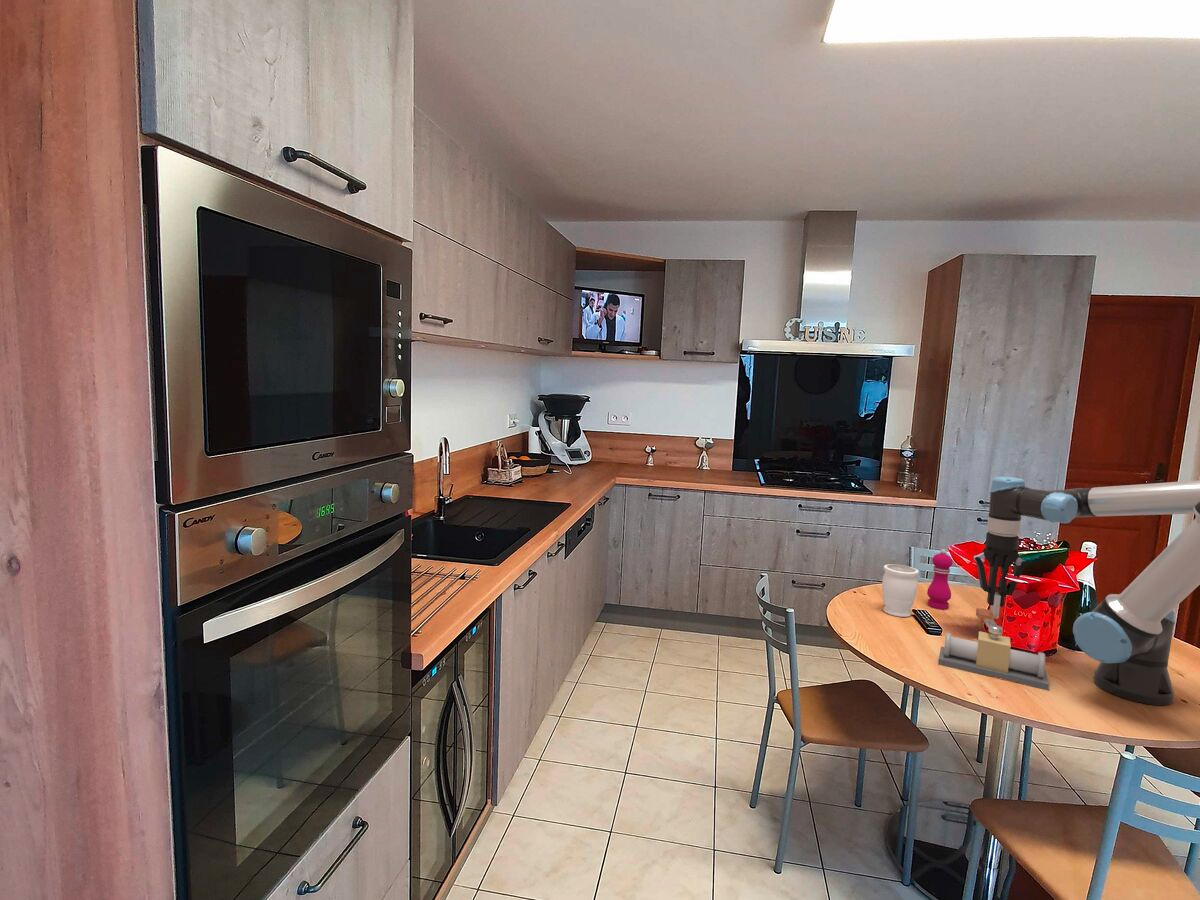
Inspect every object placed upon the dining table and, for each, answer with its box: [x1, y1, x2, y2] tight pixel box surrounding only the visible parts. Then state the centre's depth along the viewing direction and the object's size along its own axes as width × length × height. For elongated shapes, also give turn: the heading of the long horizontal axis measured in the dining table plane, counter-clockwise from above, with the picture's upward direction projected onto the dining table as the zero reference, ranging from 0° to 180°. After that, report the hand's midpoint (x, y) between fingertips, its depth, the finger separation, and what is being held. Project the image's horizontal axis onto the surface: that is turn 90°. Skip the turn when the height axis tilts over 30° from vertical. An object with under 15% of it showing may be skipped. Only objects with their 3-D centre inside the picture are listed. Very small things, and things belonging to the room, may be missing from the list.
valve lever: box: [975, 607, 1003, 636], centre depth 169 cm, size 16×3×2 cm, turn 161°
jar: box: [881, 563, 919, 618], centre depth 204 cm, size 11×10×15 cm
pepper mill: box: [926, 548, 953, 611], centre depth 212 cm, size 7×7×20 cm
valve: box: [938, 631, 1050, 691], centre depth 164 cm, size 24×10×10 cm, turn 58°
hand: (993, 616), depth 173 cm, fingers closed
